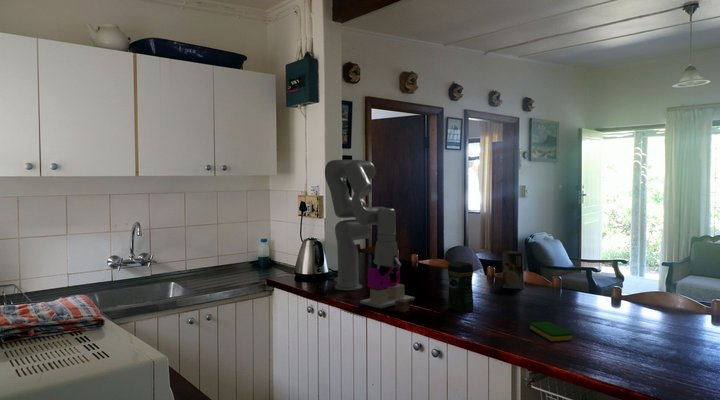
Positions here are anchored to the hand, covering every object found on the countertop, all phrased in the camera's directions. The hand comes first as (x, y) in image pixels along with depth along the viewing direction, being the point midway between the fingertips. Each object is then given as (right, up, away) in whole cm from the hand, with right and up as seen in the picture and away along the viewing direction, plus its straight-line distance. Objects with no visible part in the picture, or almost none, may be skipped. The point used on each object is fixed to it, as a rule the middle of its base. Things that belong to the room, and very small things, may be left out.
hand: (387, 280), depth 214 cm
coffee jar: (+28, -9, -14) cm, 32 cm away
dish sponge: (+51, -11, -46) cm, 69 cm away
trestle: (0, -8, 0) cm, 8 cm away
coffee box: (+59, -7, +23) cm, 64 cm away
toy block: (0, -2, 0) cm, 2 cm away
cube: (+5, -9, -14) cm, 18 cm away
